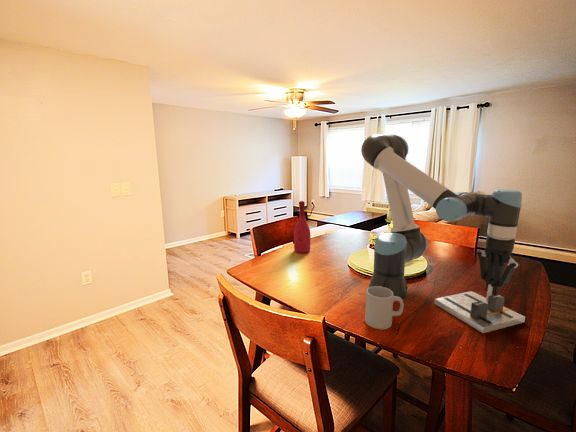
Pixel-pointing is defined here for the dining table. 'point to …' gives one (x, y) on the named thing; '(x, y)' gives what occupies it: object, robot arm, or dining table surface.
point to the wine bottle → (302, 232)
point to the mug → (381, 307)
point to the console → (478, 312)
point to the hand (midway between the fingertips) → (490, 301)
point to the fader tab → (495, 302)
